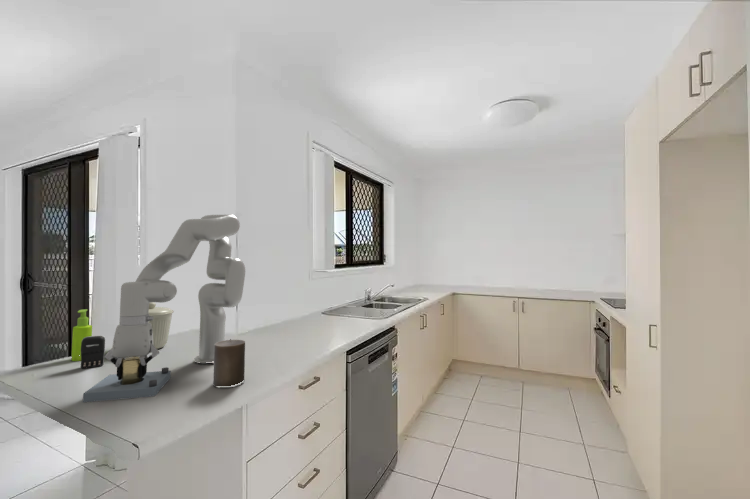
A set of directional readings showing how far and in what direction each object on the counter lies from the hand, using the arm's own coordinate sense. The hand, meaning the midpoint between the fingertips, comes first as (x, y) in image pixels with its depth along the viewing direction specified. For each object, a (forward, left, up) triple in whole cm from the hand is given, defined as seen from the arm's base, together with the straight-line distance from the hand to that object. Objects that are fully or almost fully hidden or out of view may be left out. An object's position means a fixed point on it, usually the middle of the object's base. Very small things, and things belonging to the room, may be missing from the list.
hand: (131, 377), depth 106 cm
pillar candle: (-29, +2, -4) cm, 29 cm away
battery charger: (+22, -27, -4) cm, 35 cm away
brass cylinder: (0, 0, -2) cm, 2 cm away
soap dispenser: (+31, -39, -4) cm, 50 cm away
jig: (0, 0, -4) cm, 4 cm away
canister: (+11, -52, -4) cm, 53 cm away
